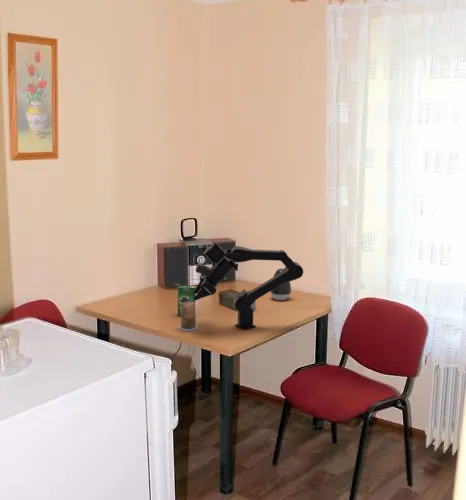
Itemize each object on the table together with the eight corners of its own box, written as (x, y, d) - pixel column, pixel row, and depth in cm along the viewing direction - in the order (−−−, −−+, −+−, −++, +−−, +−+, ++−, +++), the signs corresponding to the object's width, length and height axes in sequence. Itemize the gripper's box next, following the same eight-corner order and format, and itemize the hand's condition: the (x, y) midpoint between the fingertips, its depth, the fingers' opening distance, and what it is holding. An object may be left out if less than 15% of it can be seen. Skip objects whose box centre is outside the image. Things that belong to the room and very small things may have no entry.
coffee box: (195, 313, 280) (195, 285, 278) (195, 315, 277) (195, 287, 275) (177, 313, 280) (177, 285, 277) (177, 315, 277) (177, 287, 274)
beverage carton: (242, 313, 281) (242, 299, 280) (217, 304, 296) (217, 290, 295) (256, 310, 286) (256, 297, 285) (231, 301, 301) (231, 288, 300)
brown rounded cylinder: (198, 326, 262) (198, 303, 260) (190, 329, 256) (189, 306, 255) (186, 323, 265) (186, 300, 263) (178, 327, 260) (178, 304, 258)
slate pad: (201, 328, 260) (201, 327, 260) (185, 332, 255) (185, 331, 255) (190, 323, 266) (190, 322, 266) (174, 327, 261) (174, 326, 261)
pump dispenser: (290, 302, 299) (291, 271, 296) (269, 301, 301) (269, 270, 298) (292, 296, 309) (292, 266, 306) (271, 295, 310) (271, 266, 307)
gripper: (206, 252, 264) (180, 277, 266) (208, 262, 246) (180, 289, 247) (224, 270, 267) (198, 295, 268) (227, 281, 248) (199, 308, 250)
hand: (193, 296), depth 258 cm, fingers open, 9 cm apart
